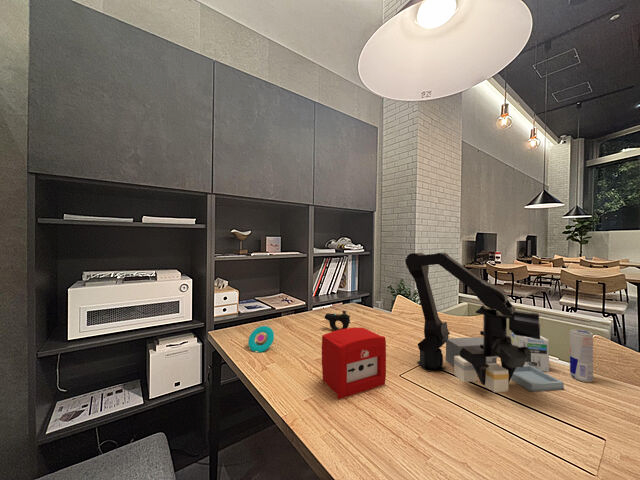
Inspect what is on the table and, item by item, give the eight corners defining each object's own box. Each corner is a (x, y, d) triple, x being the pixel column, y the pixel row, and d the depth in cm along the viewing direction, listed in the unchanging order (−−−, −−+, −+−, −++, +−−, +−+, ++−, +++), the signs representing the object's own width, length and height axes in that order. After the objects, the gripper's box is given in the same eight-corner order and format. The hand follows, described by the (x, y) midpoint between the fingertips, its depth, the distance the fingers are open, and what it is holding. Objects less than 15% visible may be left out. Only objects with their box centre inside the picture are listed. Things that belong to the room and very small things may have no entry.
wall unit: (459, 371, 85) (459, 346, 85) (445, 360, 93) (445, 338, 93) (497, 368, 87) (497, 344, 87) (480, 358, 95) (480, 336, 95)
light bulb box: (550, 372, 85) (550, 339, 85) (526, 370, 86) (526, 338, 86) (530, 358, 95) (530, 329, 95) (510, 356, 96) (510, 327, 97)
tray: (531, 391, 73) (531, 384, 73) (500, 373, 84) (500, 366, 84) (563, 389, 75) (563, 382, 75) (529, 371, 85) (529, 365, 85)
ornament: (280, 336, 106) (261, 326, 110) (278, 331, 103) (258, 321, 106) (265, 360, 100) (245, 349, 103) (263, 356, 97) (242, 345, 100)
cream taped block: (494, 392, 73) (494, 371, 73) (481, 383, 78) (481, 363, 78) (508, 391, 74) (508, 370, 74) (495, 382, 78) (495, 363, 78)
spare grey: (463, 382, 78) (463, 362, 78) (453, 374, 83) (453, 355, 83) (477, 381, 79) (477, 361, 79) (466, 373, 83) (466, 355, 84)
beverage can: (586, 376, 82) (586, 329, 82) (597, 384, 77) (597, 334, 77) (566, 373, 84) (566, 327, 84) (576, 381, 79) (575, 332, 79)
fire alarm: (340, 400, 69) (340, 344, 69) (321, 381, 78) (321, 332, 78) (386, 385, 76) (386, 335, 76) (364, 369, 86) (364, 324, 86)
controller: (348, 334, 118) (349, 312, 118) (323, 331, 122) (323, 310, 123) (350, 331, 122) (351, 310, 122) (326, 328, 126) (326, 308, 127)
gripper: (487, 342, 67) (487, 402, 66) (550, 339, 69) (550, 397, 69) (458, 328, 78) (458, 380, 77) (513, 326, 80) (513, 376, 80)
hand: (494, 383), depth 76 cm, fingers open, 7 cm apart
